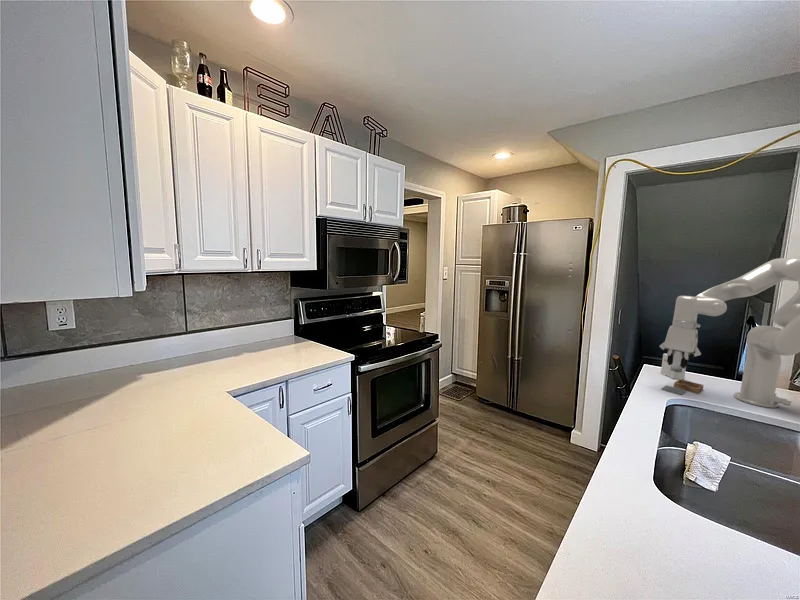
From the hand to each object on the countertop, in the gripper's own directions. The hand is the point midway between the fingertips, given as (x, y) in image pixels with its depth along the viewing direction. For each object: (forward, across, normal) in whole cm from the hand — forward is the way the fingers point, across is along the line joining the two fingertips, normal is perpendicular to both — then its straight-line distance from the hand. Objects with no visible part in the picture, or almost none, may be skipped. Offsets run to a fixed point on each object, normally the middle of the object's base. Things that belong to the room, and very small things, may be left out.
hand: (676, 365), depth 142 cm
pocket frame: (+11, -3, -10) cm, 15 cm away
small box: (+11, +6, -24) cm, 27 cm away
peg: (+2, 0, 0) cm, 2 cm away
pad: (+11, 0, 0) cm, 11 cm away
